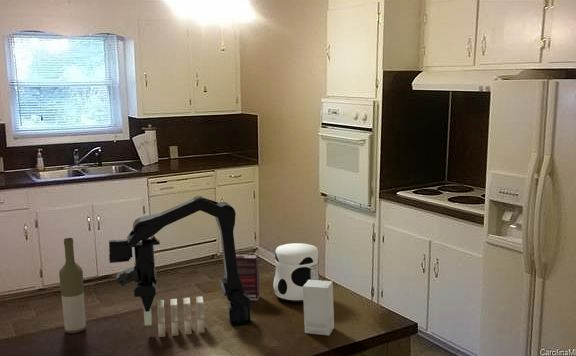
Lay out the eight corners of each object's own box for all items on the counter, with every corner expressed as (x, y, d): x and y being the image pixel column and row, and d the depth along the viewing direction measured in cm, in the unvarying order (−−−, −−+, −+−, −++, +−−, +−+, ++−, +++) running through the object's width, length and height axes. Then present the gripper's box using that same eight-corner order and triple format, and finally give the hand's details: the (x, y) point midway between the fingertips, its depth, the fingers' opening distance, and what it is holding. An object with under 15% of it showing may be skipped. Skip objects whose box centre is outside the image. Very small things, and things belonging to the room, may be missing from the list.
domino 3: (178, 328, 178) (176, 298, 176) (178, 335, 173) (177, 304, 171) (171, 329, 177) (170, 299, 176) (171, 335, 173) (170, 305, 171)
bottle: (76, 336, 173) (69, 242, 168) (58, 333, 176) (50, 240, 171) (91, 327, 180) (85, 236, 175) (74, 324, 182) (67, 235, 177)
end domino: (203, 325, 179) (202, 296, 178) (204, 332, 175) (203, 302, 173) (197, 326, 179) (195, 296, 178) (198, 333, 174) (196, 302, 173)
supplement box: (259, 296, 205) (258, 254, 202) (257, 300, 200) (256, 258, 197) (236, 295, 206) (235, 253, 203) (234, 300, 201) (232, 257, 198)
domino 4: (190, 327, 179) (189, 297, 177) (191, 333, 174) (190, 303, 172) (184, 327, 178) (183, 298, 177) (185, 334, 173) (183, 303, 172)
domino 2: (165, 329, 177) (163, 299, 175) (165, 336, 172) (163, 305, 171) (158, 330, 177) (157, 300, 175) (158, 337, 172) (157, 306, 170)
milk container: (271, 289, 211) (270, 243, 208) (316, 287, 213) (316, 241, 210) (275, 307, 194) (274, 257, 191) (324, 304, 196) (324, 254, 193)
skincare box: (334, 328, 176) (334, 280, 174) (329, 337, 170) (329, 288, 168) (309, 324, 179) (308, 278, 177) (302, 333, 173) (302, 285, 170)
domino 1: (151, 318, 176) (150, 288, 174) (151, 324, 171) (149, 293, 169) (145, 319, 175) (143, 288, 174) (144, 325, 170) (142, 294, 169)
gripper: (119, 252, 177) (122, 299, 180) (114, 271, 159) (118, 323, 162) (155, 250, 179) (158, 296, 182) (154, 267, 161) (157, 319, 164)
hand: (147, 308), depth 172 cm, fingers closed on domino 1, 5 cm apart
